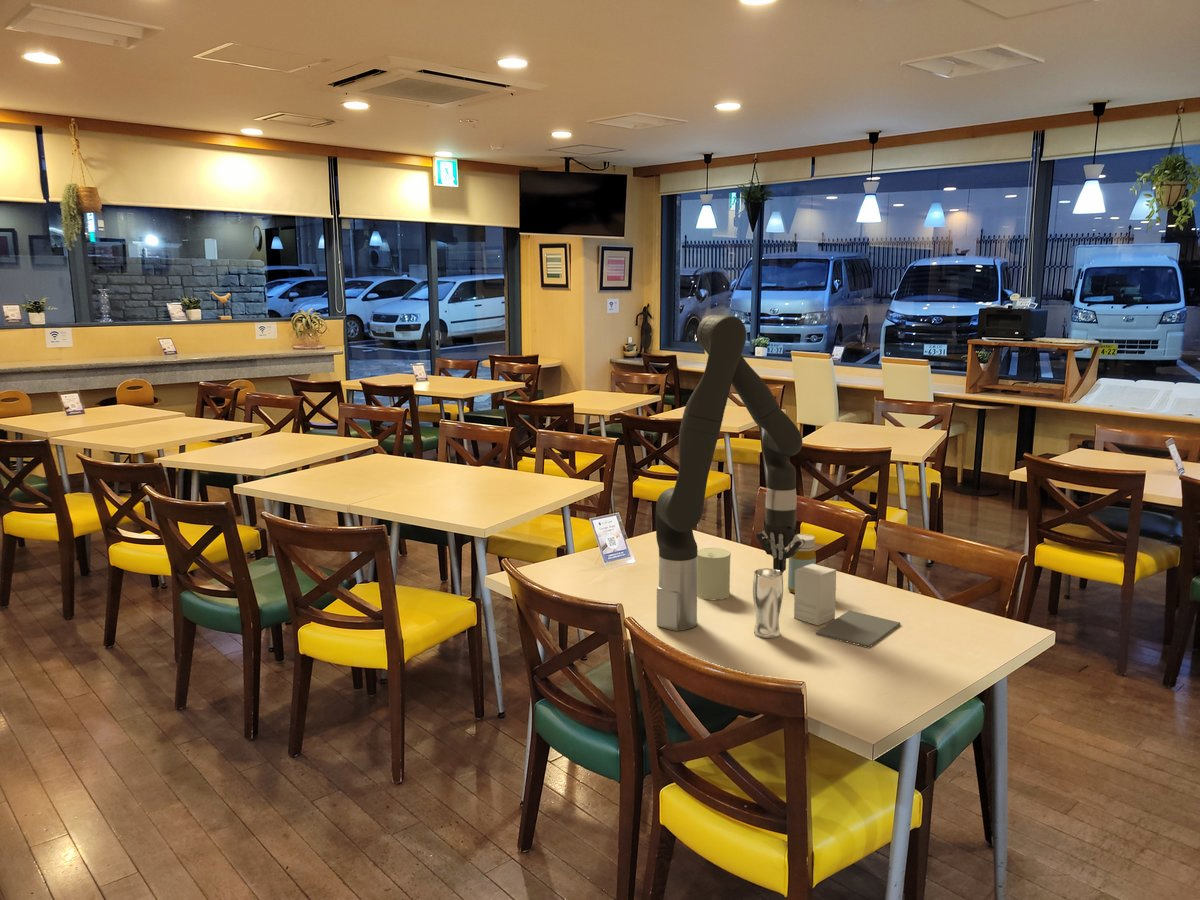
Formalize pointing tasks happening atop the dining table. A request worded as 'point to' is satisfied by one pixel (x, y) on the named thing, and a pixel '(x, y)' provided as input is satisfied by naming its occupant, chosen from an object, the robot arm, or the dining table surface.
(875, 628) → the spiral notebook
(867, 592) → the dining table surface
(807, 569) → the supplement box
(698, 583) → the can
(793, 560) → the bottle
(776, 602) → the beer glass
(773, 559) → the robot arm
